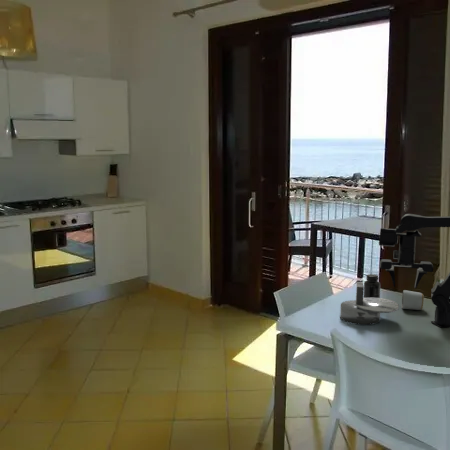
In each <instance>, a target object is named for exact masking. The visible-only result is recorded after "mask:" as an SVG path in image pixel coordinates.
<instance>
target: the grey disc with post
mask: <svg viewBox="0 0 450 450" xmlns="http://www.w3.org/2000/svg"><path fill="white" fill-rule="evenodd" d="M355 291H356V292H355V300H356V301H355V306H356V307H357V308H359V309H362V310H365V311H369V312H376V313H380V314H390V313H395V312H397V311H398V310H399V304H398V302H396V301H394V300H391V299H388V298H382V297H380V298H374V297H367V298H364V282H363V281H356V289H355Z"/></svg>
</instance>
